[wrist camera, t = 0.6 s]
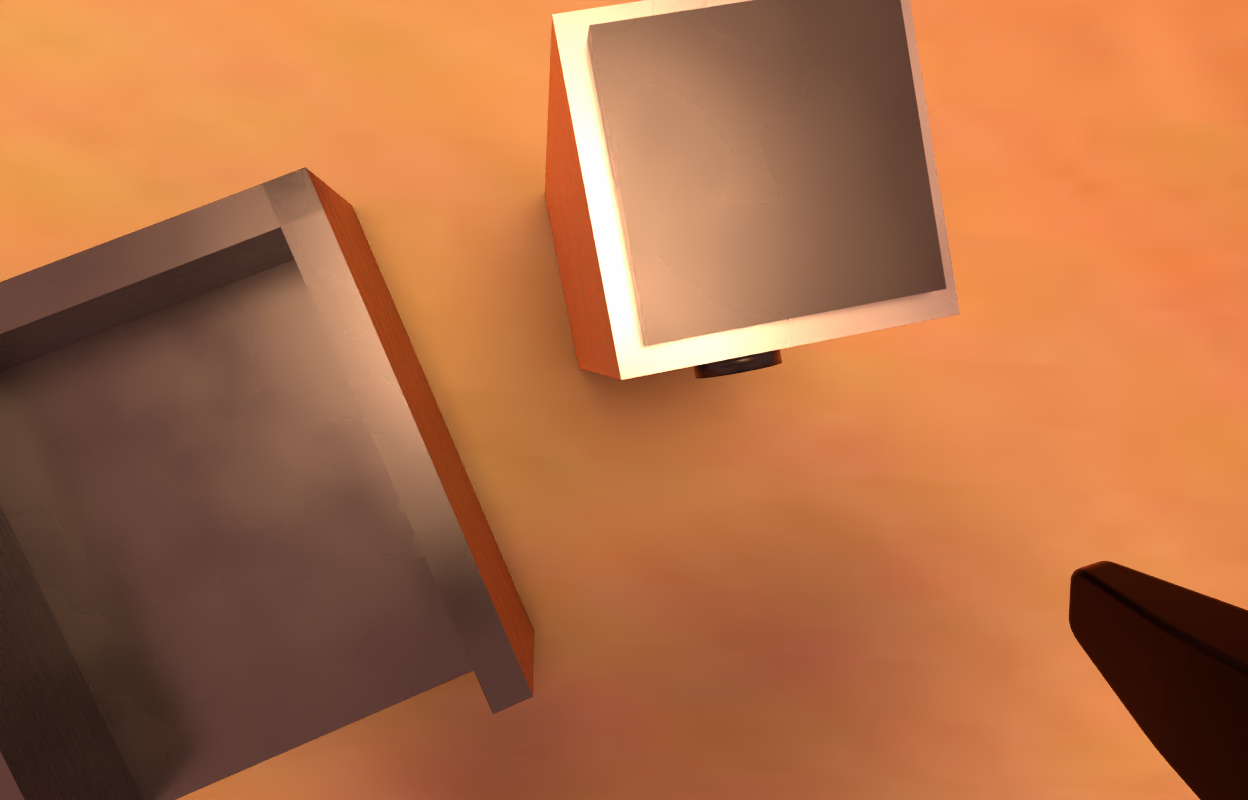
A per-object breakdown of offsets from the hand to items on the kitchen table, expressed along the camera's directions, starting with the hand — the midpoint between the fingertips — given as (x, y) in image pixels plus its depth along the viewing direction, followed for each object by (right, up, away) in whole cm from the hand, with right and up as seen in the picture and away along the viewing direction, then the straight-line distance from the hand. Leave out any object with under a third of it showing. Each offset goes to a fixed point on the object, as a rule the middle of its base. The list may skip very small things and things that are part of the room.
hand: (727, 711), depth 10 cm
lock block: (0, +7, +14) cm, 16 cm away
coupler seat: (-12, +1, +13) cm, 17 cm away
